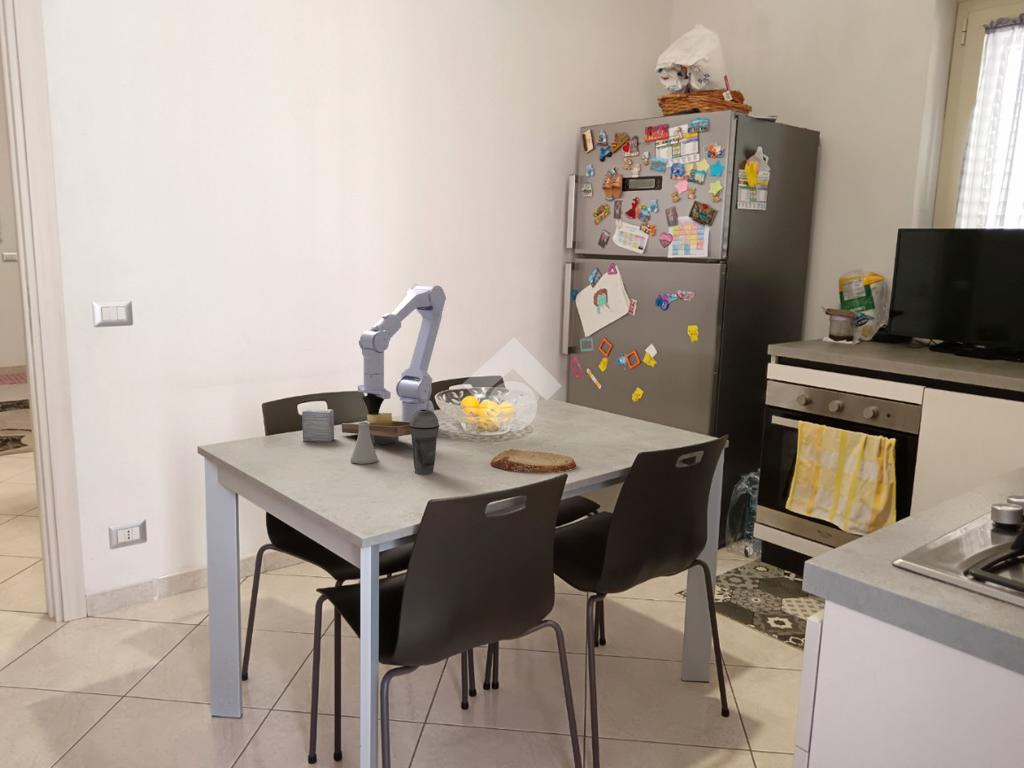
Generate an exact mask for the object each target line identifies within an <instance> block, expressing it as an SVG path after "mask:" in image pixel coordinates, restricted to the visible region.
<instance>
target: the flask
mask: <svg viewBox="0 0 1024 768" xmlns="http://www.w3.org/2000/svg"><path fill="white" fill-rule="evenodd" d="M357 424H358V426H359V433H358V434H357V439H356V442H355V445H354V448H353V451H352V453H351V457H350V462H351V463H352V464H361V465H365V464H375V463H377V462H378V461H379V459H378V455H377V454H376V453H377V452H376V451H375V448H374V445H373V444H372V441H371V438H370V433H369V426H370V422H368V421H360V422H358V423H357Z"/></svg>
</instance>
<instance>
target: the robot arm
mask: <svg viewBox="0 0 1024 768" xmlns="http://www.w3.org/2000/svg"><path fill="white" fill-rule="evenodd" d="M446 299H447V297H446V293H445V291H444V289H443V288H442V286H441V285H438V284H437V285H423V284H416V283H415V284H413V285H411V287H410V288H409V289H408V290H406V296H405V298H404V299H402V301H401V302H400V303H399V304H398V306H397V307H396V308H395V309H394V311H393V312H391V313H390V312H389V313H384V314H383V315H382V316H381V319H379V321H378V322H377V323H375V324H374V325H373V326H372V328H371V329H370V330H365V331H364V332H362V334H361V336H360V337H359V340H358V345H359V348H360V350H361V355H362V357H363V384H358V385H357V392H358V393H362V394H366V395H363V396H362V400H363V401H364V404H365V405H366V408H367V412H368V414H376V413H380V409H381V407H382V405H383V402H384V401H385V400H388V399H389V400H391V393H392V392H391V391H389V390H387V388H385V351H386V350H387V349H388V348H389V345H390V341H391V339H392V337H393V336H394V335H396V333H397V332H398V331H399V330H400V329H401V328H402V322H403V320H405V319H406V318H407V317H408V316H409V315H410V314H411V313H413V311H415V310H416V312H417V313H418V314H419V315H421V318H422V321H421V324H420V328H419V330H418V335H417V339H416V343H415V346H414V349H413V353H412V357H411V360H410V365H409V367H408V368H406V369H405V370H404V371H402V373H401V376H400V378H399V379H398V380H397V382H396V385H395V393H396V395H397V397H398V398H399V401H400V402H401V421H405V422H410V420H411V418H412V416H413V415H414V413H416V412H417V411H419V410H422V409H426V406H427V398H428V392H430V396H431V395H432V383H433V378H432V377H431V375H430V373H428V370H429V366H430V362H431V359H432V354H433V351H434V347H435V344H436V339H437V337H438V336H437V335H438V332H439V329H440V324H441V322H442V317H443V311H444V307H445V304H446V303H445V302H446ZM428 410H430V411H432V412H433V413H434V414H435V407H434V404H433V402H432V401H431V400H430V399H429V407H428ZM368 414H367V415H368Z"/></svg>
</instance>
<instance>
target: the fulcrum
mask: <svg viewBox="0 0 1024 768" xmlns="http://www.w3.org/2000/svg"><path fill="white" fill-rule="evenodd" d="M370 438H371V441H372V444H373V446H380V445H385V444H390V443H391V444H392V443H397V442H399V439H400V436H398V437H389V436H378V435H370Z"/></svg>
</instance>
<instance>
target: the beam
mask: <svg viewBox="0 0 1024 768" xmlns="http://www.w3.org/2000/svg"><path fill="white" fill-rule="evenodd" d="M392 425H393V426H379V425H370V426H369V433H370V435H378V436H389V437H398V436H399V437H403V436H404V437H405V436H411V432H410V427H409V425H410V422H405V421H402V420H392ZM341 432H342V433H344V434H354V435H355V434H356V435H358V433H359V426H358V423H347V422H343V423H342V422H341Z"/></svg>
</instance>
